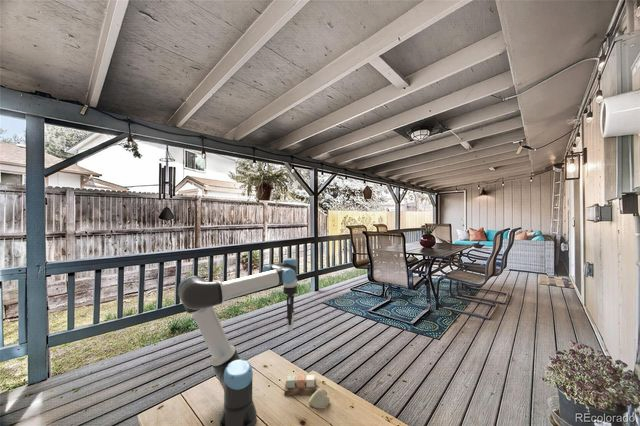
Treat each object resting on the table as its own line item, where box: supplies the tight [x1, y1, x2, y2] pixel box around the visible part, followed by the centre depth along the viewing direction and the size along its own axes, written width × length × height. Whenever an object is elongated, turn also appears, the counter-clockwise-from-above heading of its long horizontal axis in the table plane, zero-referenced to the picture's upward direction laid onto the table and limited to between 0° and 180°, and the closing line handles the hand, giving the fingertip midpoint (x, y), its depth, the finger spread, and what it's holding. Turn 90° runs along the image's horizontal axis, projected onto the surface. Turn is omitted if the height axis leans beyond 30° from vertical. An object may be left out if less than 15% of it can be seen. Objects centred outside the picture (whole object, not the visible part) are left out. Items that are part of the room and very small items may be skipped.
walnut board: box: [283, 379, 317, 396], centre depth 125 cm, size 16×8×2 cm, turn 92°
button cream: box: [305, 374, 315, 388], centre depth 125 cm, size 4×4×4 cm
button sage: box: [286, 374, 296, 389], centre depth 125 cm, size 4×4×4 cm
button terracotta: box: [296, 374, 306, 388], centre depth 125 cm, size 4×4×4 cm
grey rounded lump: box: [308, 387, 330, 409], centre depth 115 cm, size 8×8×8 cm
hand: (290, 327), depth 136 cm, fingers open, 6 cm apart
